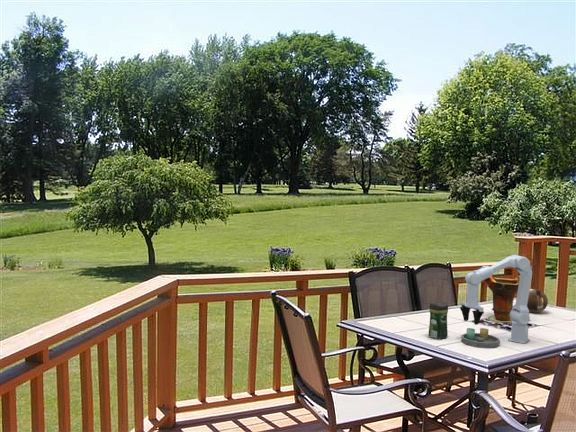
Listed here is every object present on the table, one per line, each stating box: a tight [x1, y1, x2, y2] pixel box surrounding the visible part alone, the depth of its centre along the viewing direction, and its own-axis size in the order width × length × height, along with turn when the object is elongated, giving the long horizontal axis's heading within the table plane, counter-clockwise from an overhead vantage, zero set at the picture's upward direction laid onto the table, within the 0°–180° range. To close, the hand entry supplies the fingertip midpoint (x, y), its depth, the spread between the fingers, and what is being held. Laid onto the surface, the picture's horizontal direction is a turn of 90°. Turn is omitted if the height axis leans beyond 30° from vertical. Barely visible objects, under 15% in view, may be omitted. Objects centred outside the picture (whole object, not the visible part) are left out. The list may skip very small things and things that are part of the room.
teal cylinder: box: [466, 327, 476, 340], centre depth 273 cm, size 4×4×5 cm
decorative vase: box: [482, 274, 520, 324], centre depth 318 cm, size 21×23×28 cm
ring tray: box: [460, 332, 501, 349], centre depth 269 cm, size 18×18×2 cm
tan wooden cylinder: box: [479, 327, 489, 340], centre depth 273 cm, size 4×4×5 cm
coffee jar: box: [428, 300, 449, 340], centre depth 278 cm, size 10×8×19 cm
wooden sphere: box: [527, 288, 549, 314], centre depth 340 cm, size 15×15×15 cm
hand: (471, 322), depth 272 cm, fingers open, 7 cm apart
